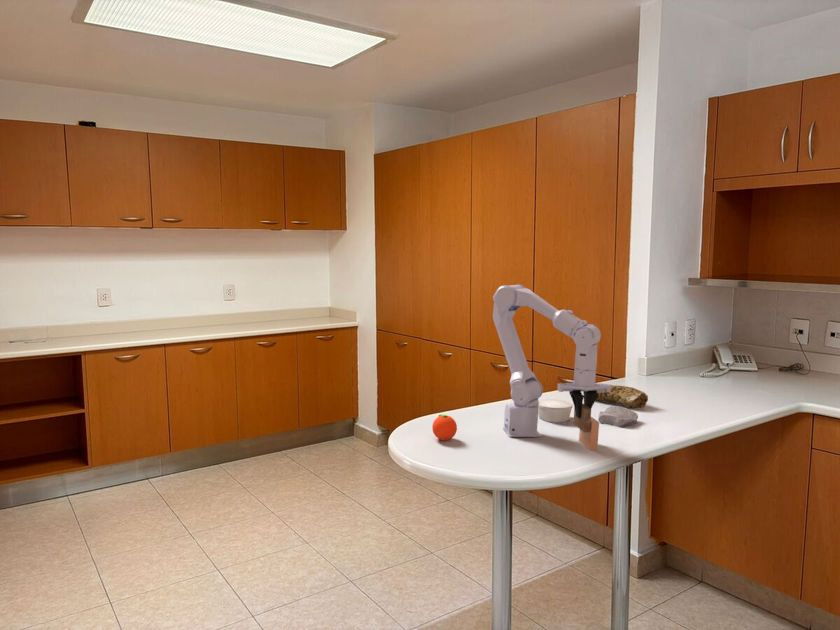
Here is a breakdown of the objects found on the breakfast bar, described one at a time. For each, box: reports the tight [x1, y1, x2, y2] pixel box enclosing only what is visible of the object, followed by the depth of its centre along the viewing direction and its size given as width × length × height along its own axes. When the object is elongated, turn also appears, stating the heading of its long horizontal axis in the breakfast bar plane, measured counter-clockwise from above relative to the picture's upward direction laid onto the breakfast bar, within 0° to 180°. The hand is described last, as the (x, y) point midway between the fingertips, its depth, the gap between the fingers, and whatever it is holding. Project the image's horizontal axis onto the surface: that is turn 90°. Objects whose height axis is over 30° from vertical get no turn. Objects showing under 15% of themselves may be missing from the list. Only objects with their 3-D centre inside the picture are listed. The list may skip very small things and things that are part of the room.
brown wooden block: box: [572, 402, 592, 432], centre depth 169 cm, size 2×8×6 cm, turn 6°
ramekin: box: [538, 398, 573, 424], centre depth 196 cm, size 11×11×5 cm
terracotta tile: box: [578, 416, 600, 451], centre depth 170 cm, size 2×8×8 cm, turn 7°
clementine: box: [431, 414, 458, 441], centre depth 171 cm, size 8×7×7 cm
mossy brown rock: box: [596, 382, 649, 409], centre depth 219 cm, size 13×8×20 cm
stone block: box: [597, 405, 639, 428], centre depth 195 cm, size 12×5×10 cm
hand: (582, 416), depth 169 cm, fingers closed on brown wooden block, 2 cm apart
